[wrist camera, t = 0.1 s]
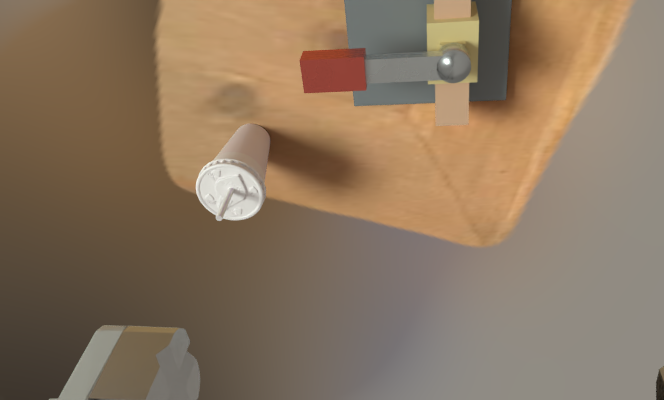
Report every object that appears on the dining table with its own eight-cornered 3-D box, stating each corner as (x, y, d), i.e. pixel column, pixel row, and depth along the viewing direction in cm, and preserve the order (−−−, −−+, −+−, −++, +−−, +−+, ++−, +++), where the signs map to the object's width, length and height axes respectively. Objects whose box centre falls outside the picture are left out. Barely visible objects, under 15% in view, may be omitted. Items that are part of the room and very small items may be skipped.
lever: (470, 40, 49) (471, 51, 48) (469, 73, 51) (470, 85, 49) (304, 49, 51) (299, 60, 50) (308, 81, 53) (304, 93, 51)
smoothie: (293, 129, 64) (265, 212, 53) (269, 175, 68) (237, 261, 57) (235, 101, 63) (193, 180, 52) (213, 148, 67) (170, 232, 56)
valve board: (334, -130, 50) (322, -112, 44) (518, -148, 48) (530, -132, 42) (355, 100, 62) (348, 136, 56) (504, 94, 59) (512, 131, 54)
